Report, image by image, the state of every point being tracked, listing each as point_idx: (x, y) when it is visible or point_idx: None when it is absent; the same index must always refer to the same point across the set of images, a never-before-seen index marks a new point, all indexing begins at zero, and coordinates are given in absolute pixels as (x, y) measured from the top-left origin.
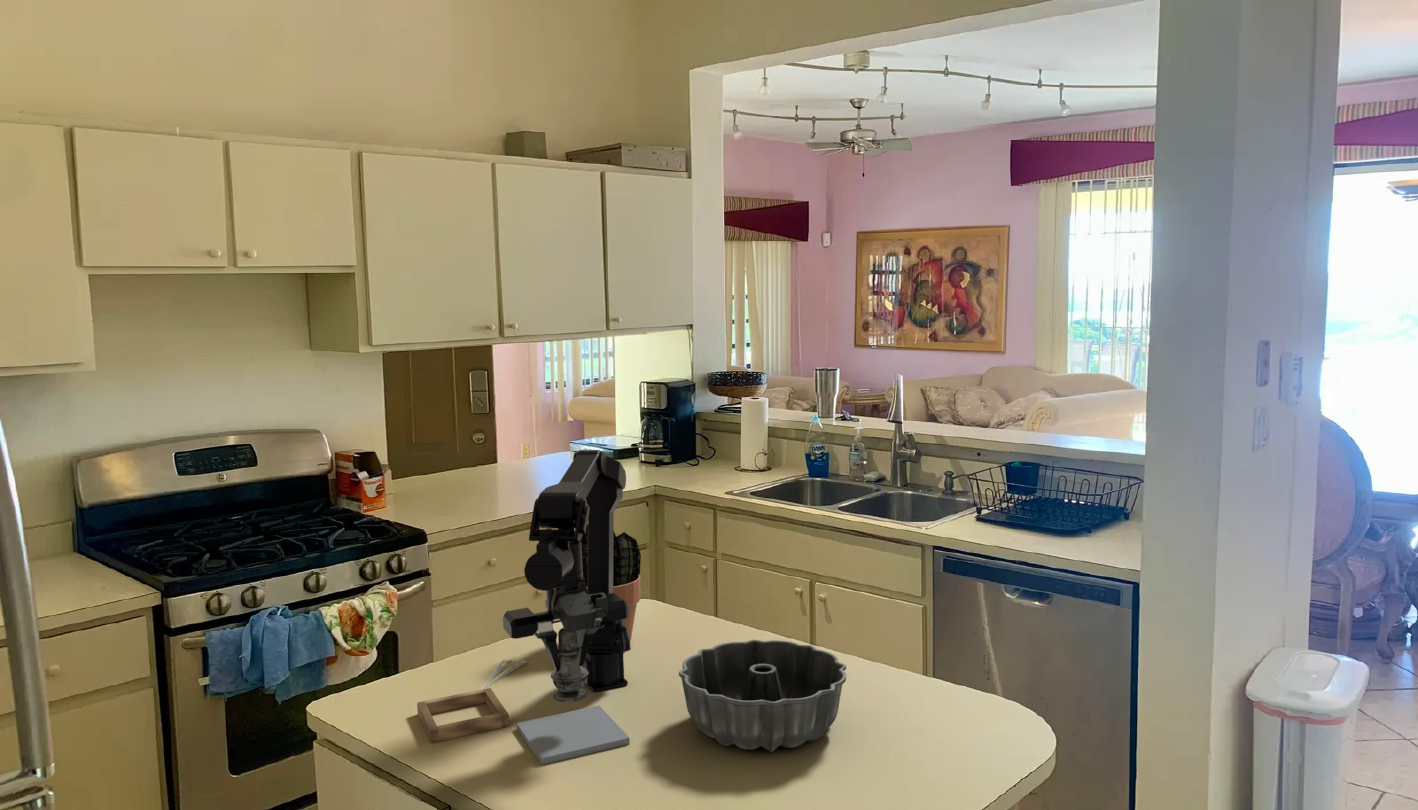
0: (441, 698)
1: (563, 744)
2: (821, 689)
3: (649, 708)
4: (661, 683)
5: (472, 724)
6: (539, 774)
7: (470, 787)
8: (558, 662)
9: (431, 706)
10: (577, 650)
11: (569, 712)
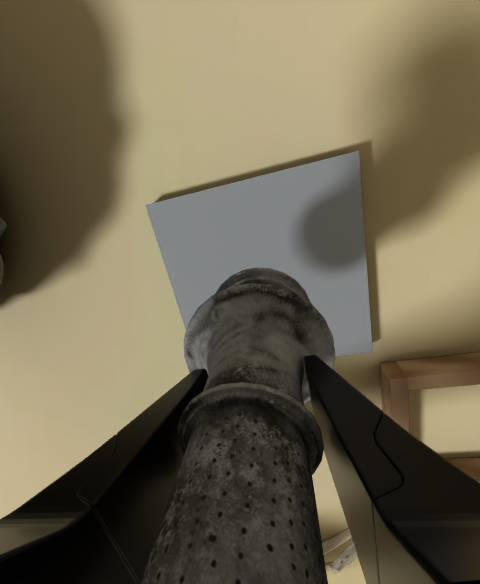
0: None
1: (292, 215)
2: None
3: (114, 345)
4: (96, 424)
5: (475, 366)
6: (369, 98)
7: None
8: (313, 374)
9: None
10: (191, 415)
11: None
